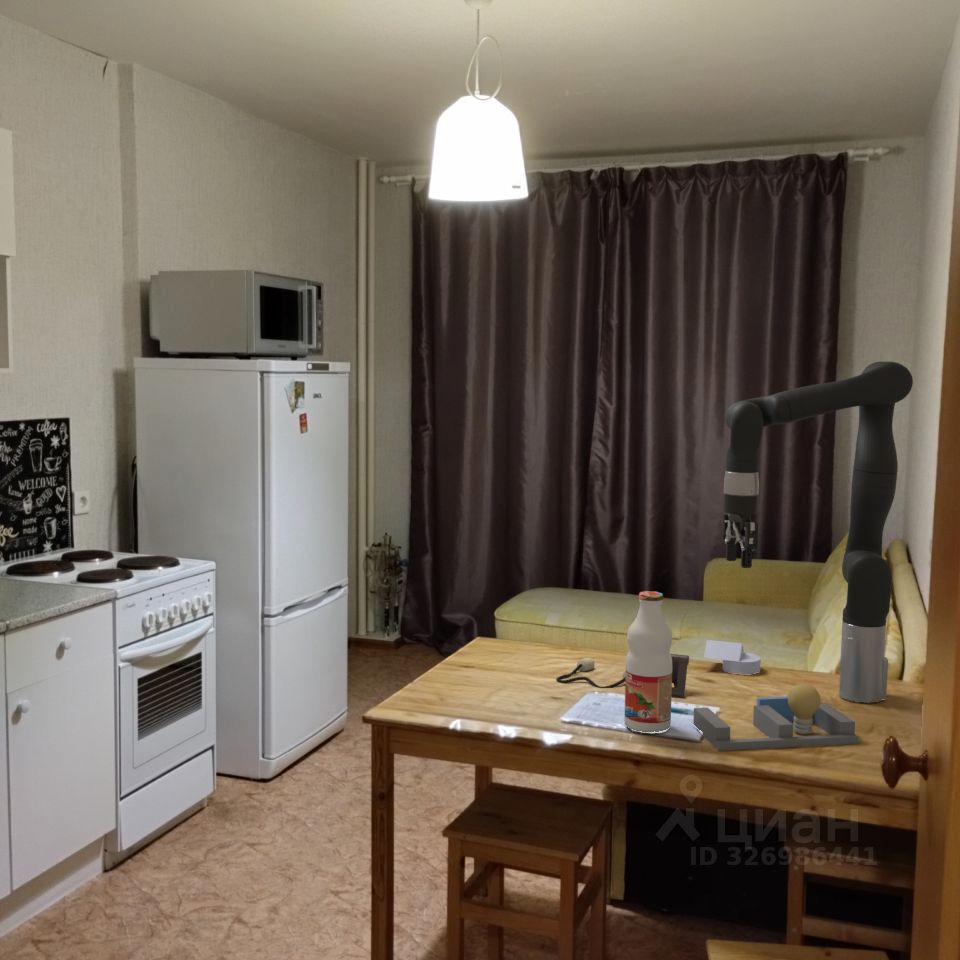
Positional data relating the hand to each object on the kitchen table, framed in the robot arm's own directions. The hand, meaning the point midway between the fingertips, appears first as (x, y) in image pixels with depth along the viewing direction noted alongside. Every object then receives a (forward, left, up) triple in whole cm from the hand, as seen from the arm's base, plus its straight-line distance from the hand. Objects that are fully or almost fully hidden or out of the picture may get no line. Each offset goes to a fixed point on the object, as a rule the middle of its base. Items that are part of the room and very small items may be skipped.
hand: (738, 564), depth 234 cm
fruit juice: (+26, +18, -30) cm, 44 cm away
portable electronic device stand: (+14, -5, -30) cm, 34 cm away
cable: (+27, -16, -31) cm, 44 cm away
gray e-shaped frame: (+2, +25, -30) cm, 39 cm away
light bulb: (-5, +25, -30) cm, 40 cm away
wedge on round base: (-8, -20, -30) cm, 37 cm away
